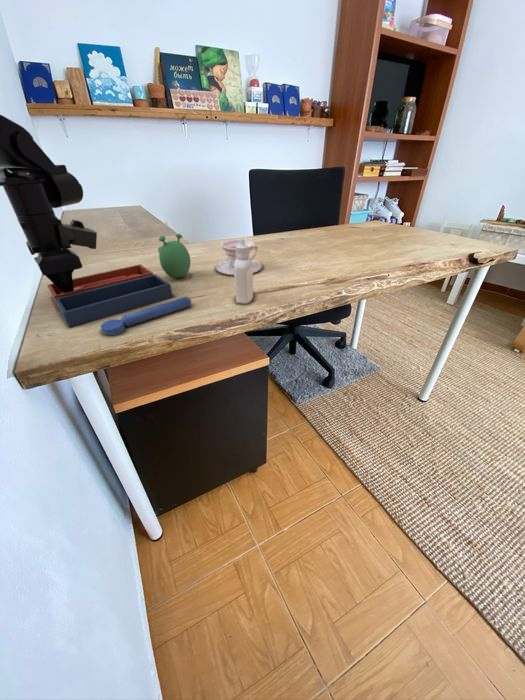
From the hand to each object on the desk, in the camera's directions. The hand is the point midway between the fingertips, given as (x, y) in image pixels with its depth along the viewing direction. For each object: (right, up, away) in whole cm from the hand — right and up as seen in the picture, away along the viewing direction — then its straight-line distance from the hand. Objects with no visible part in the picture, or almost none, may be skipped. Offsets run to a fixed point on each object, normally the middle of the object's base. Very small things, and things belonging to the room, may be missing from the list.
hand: (69, 294), depth 61 cm
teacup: (+34, +10, +16) cm, 39 cm away
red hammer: (+5, +2, +4) cm, 7 cm away
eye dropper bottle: (+37, -1, 0) cm, 37 cm away
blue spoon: (+19, -6, -7) cm, 21 cm away
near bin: (+11, -2, -1) cm, 11 cm away
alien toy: (+19, +6, +11) cm, 23 cm away
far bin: (+5, +2, +4) cm, 7 cm away
